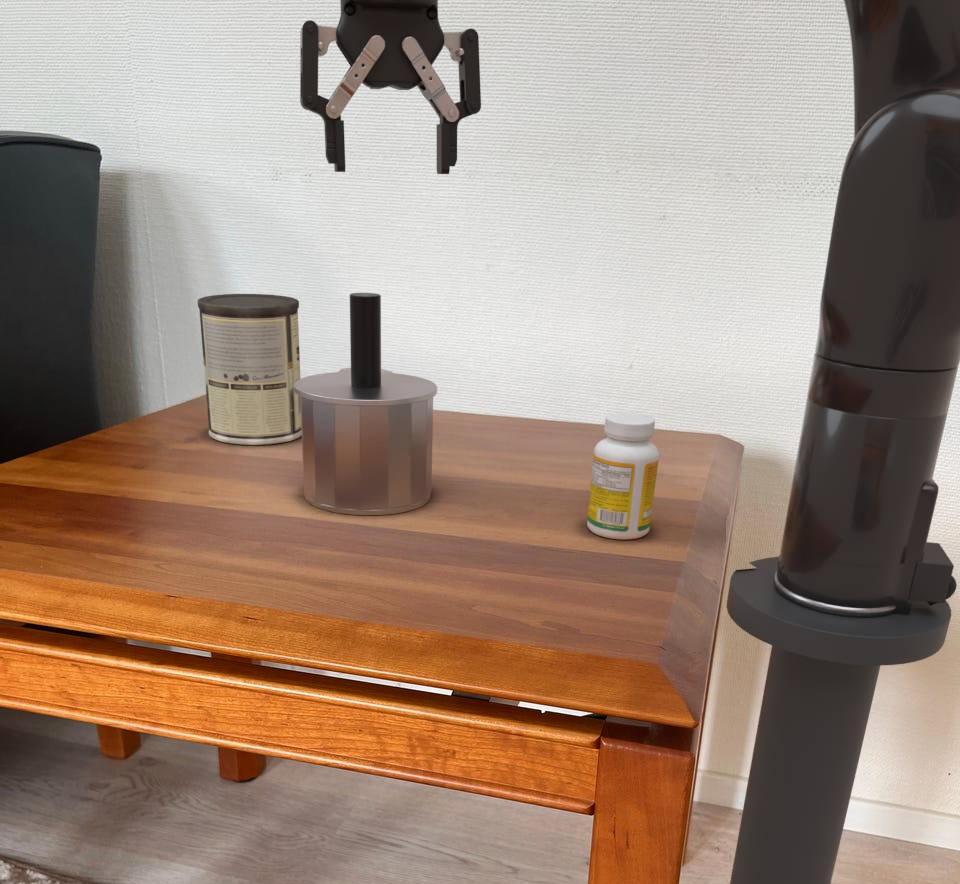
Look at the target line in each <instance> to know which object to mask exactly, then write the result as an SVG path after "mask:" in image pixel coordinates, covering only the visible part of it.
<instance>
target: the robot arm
mask: <svg viewBox="0 0 960 884" xmlns="http://www.w3.org/2000/svg"><path fill="white" fill-rule="evenodd" d="M339 2H340V4H339V5H340V16H339V22H338V24H337V25H336V26H331V25H323V24H317V23H316V22H315V21H314V20H310V19H309V20H306V21H305V22H304V23H303V25H302V26H301V28H300V41H299V42H300V45H299V46H300V47H299V48H300V51H299V53H300V56H299V57H300V58H299V59H300V61H299V62H300V63H299V65H300V66H299V68H300V69H299V70H300V71H299V72H300V75H299V78H300V79H299V81H300V82H299V84H300V85H299V86H300V87H299V94H300V95H299V103H300V106H301V108H302V109H304V110H305V111H309V112H311V113H314V114H316V115H318V116H320V118H321V119H322V121H323V124H324V125H323V126H324V146H325V147H324V148H325V151H324V152H325V158H326V161H327V163H328V164H330V165H331V164H333V166H334V167H333V169H334V172H335V173H345V172H346V148H345V147H346V141H345V121H344V120H342V113H343V112H344V110H345V108H346V107H347V105H348V104H349V103H350V102H351V99H352V98H353V96H354V95H355V94H356V92H357V91H358V89H359V88H360V87H361V85H364V86H365V87H367V88H369V90H383V89H385V88H392V89H395V90H398V91H410V90H412V89H414V88H416V87H417V89H418V90H419V91H420V93H421V94H422V96H423V98H424V99H425V100H426V101H427V102H428V103H429V104H430V106H431V108H432V109H433V110H434V112H435V114H436V116H437V117H438V118H439V123H438V124H436V174H437V175H450V170H451V169H450V168H451V167H456V164H457V161H458V126H459V124H460V121H461V120H462V119H465V118H468V117H470V116H472V115H476V114H478V113H479V112H480V111H481V108H482V94H481V93H482V91H481V69H480V67H481V66H480V41H479V33H478V31H477V30H476V29H475V28H466V29H465V30H462V31H443V29H442V27H441V24H440V20H439V0H340V1H339ZM843 4H844V8H845V13H846V19H847V22H848V29H849V36H850V44H851V57H852V77H853V115H854V116H853V121H854V122H853V141H852V143H851V145H850V147H849V149H848V151H847V154H846V156H845V161H844V164H843V167H842V172H841V175H840V180H839V186H838V191H837V197H836V203H835V209H834V215H833V221H832V227H831V232H830V240H829V245H828V251H827V258H826V265H825V271H824V277H823V284H822V289H821V295H820V304H819V316H818V317H819V320H818V330H817V338H816V343H815V348H814V349H815V350H814V352H815V353H814V354H813V360H812V366H811V372H810V377H809V383H808V384H809V385H808V388H807V389H808V390H807V397H806V399H805V400H806V402H805V407H804V412H803V413H804V414H803V419H802V424H801V431H800V434H799V435H800V436H799V440H798V441H799V442H798V447H797V454H796V459H795V463H794V464H795V465H794V471H793V476H792V481H791V482H792V483H791V486H790V487H791V488H790V492H789V493H790V494H789V500H788V505H787V511H786V516H785V523H784V529H783V534H782V541H781V546H780V552H779V554H778V557H779V559H778V569H777V571H776V573H775V578H774V588H775V589H776V591H777V592H778V593H779V594H780V595H781V596H783V597H784V598H786V599H787V600H789V601H791V602H793V603H795V604H798V605H800V606H803V607H805V608H808V609H811V610H815V611H819V612H823V613H827V614H832V615H838V616H846V617H865V618H868V617H881V616H887V615H891V614H901V615H909V614H910V610H911V606H912V601H913V600H917V601H927V603H928V604H929V605H930V606H932V605H934V604H936V603H945V600H946V601H947V600H948V599H950V598H951V597H952V596H953V595H954V594H955V592H956V590H957V587H958V585H957V581H956V579H955V577H954V576H953V571H954V566H955V565H954V564H953V562H952V560H951V559H950V557H949V556H948V554H947V552H946V551H945V550H944V548H943V547H942V545H941V543H939V542H928V538H929V534H930V530H931V529H930V528H931V525H932V520H933V517H934V512H935V508H936V504H937V499H938V495H939V485H938V484H937V482H936V481H935V480H934V479H933V478H934V473H935V469H936V464H937V460H938V455H939V451H940V447H941V443H942V438H943V434H944V430H945V425H946V423H947V418H948V413H949V409H950V404H951V400H952V396H953V391H954V387H955V383H956V378H957V374H958V369H959V365H960V0H843ZM331 43H335V44H336V46H337V48H338V49H339V51H340V52H341V54H342V55H343V57H344V58H345V60H346V61H347V63H348V64H349V68H348V69H347V70H346V72H345V73H344V74H343V77H342V78H341V80H340V81H339V83H338V84H337V86H336V88H335V89H334V91H333V93H332V94H331V96H330V97H329V98H326V97H325V96H321V95H320V94H319V58H322V57H324V56H326V54H327V53H328V51H329V46H330V44H331ZM443 48H445V49H447V50H448V52H449V56H450V59H451V61H453V62H454V63H458V83H459V85H458V86H459V87H458V88H459V101H458V102H454V100H453V99H452V97H451V96H450V94H449V92H448V91H447V89H446V86H445V84H444V83H443V81H442V79H441V78H440V76H439V75H438V73H437V72H436V70H435V69H434V66H433V64H434V63H435V61H436V60H437V58H438V56H439V55H440V53H441V52H442V50H443Z"/></svg>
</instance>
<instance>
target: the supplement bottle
mask: <svg viewBox="0 0 960 884" xmlns="http://www.w3.org/2000/svg"><path fill="white" fill-rule="evenodd" d="M655 423H656V421H655V419H654V417H652V416H649V415H645V414H641V413H635V412H613V413H609V414H607V415H606V416H605V420H604V428H603V430H604V434H605V435H606V438H603V439H601V440H600V441H599V442H598V443H597V444H596V445H595V447H594V449H593V457H592V468H591V479H590V490H589V500H588V510H587V521H586V526H587V528H588V530H589V531H590V532H592V533H593V534H595V535H597V536H600V537H603V538H607V539H613V540H624V541H625V540H635V539H640V538H643V537H644V536H646V535H648V533H649V532H650V529H651V523H652V516H653V515H652V513H653V508H654V507H653V506H654V499H655V492H656V491H655V490H656V483H657V474H658V469H659V468H658V467H659V459H660V453H659V449H658V447H657V446H656V445H655V444H654V443H653V442H651V441H650V439H651V440H652V438H653V436H654V434H655V427H656V425H655Z"/></svg>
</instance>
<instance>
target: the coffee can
mask: <svg viewBox="0 0 960 884" xmlns="http://www.w3.org/2000/svg"><path fill="white" fill-rule="evenodd" d="M197 307H198V309H199V322H200V334H201V344H202V345H201V348H202V357H203V370H204V383H205V395H206V407H207V419H208V420H207V421H208V436H209V437H210V438H211V439H212V440H215V441H218V442H221V443H225V444H231V445H240V446H241V445H242V446H244V445H245V446H262V445H263V446H265V445H276V444H281V443H288V442H291V441H295V440H297V439H300V438H302V429H301V402H300V396H299V395H298V394H296V393H295V391H294V383H295V382H296V381H297V380H299V379H301V360H300V359H301V357H300V356H301V355H300V354H301V353H300V333H299V331H300V329H299V308H300V300H298V299H297V298H295V297H291V296H285V295H278V294H277V295H276V294H269V293H267V294H266V293H265V294H264V293H224V294H223V293H222V294H213V295H206V296H203V297H201V298H198V299H197Z"/></svg>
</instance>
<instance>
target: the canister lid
mask: <svg viewBox="0 0 960 884" xmlns="http://www.w3.org/2000/svg"><path fill="white" fill-rule="evenodd" d="M349 330H350V331H349V333H350V334H349V336H350V337H349V338H350V339H349V340H350V341H349V342H350V368H351V371H350V372H338V371H334V372H333V371H332V372H324V373H318V374H313V375H308V376H304V377H300V379H299V380H297V381H296V382H295V383H294V391H295V393H296V394H298V395H299V396H301V397H304V398H307V399H310V400H314V401H318V402H324V403H331V404H339V405H352V406H391V405H403V404H410V403H416V402H421V401H425V400H428V399H430V398H433V399H434V398H435V397H436V396H437V394H438V386H437V384H436V383H435V382H433V381H431V380H430V379H427V378H423V377H420V376H417V375H416V376H415V375H410V374H404V373H398V372H393V373H388V372H381V369H382V295H381V294H380V293H375V292H374V293H373V292H353V293H350V294H349Z"/></svg>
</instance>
